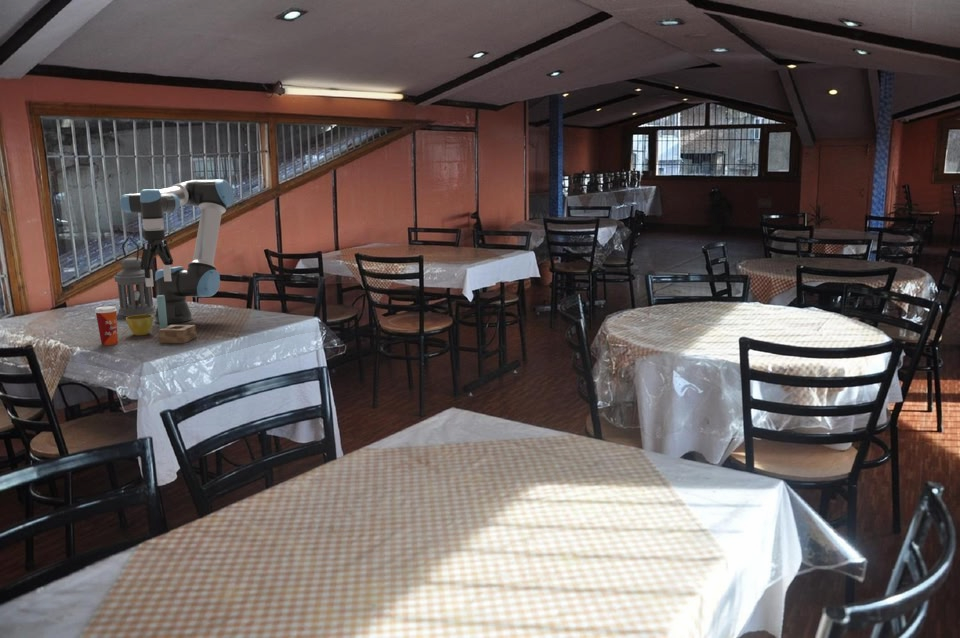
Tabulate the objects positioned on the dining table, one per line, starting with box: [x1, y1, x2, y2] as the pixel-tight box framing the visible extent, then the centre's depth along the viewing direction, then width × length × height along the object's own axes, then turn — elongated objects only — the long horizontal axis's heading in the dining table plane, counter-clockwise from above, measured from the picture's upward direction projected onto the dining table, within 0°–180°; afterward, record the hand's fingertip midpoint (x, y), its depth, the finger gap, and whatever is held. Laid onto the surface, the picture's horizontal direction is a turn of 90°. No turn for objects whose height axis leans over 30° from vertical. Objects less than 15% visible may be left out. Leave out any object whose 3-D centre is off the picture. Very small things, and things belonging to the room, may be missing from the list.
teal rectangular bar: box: [156, 295, 169, 330], centre depth 313 cm, size 3×3×16 cm
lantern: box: [113, 236, 157, 317], centre depth 362 cm, size 17×17×35 cm
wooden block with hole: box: [157, 324, 197, 344], centre depth 305 cm, size 10×10×5 cm
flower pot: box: [125, 314, 154, 336], centre depth 317 cm, size 10×10×7 cm
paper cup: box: [94, 305, 119, 346], centre depth 300 cm, size 8×8×14 cm
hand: (159, 283), depth 310 cm, fingers open, 13 cm apart
